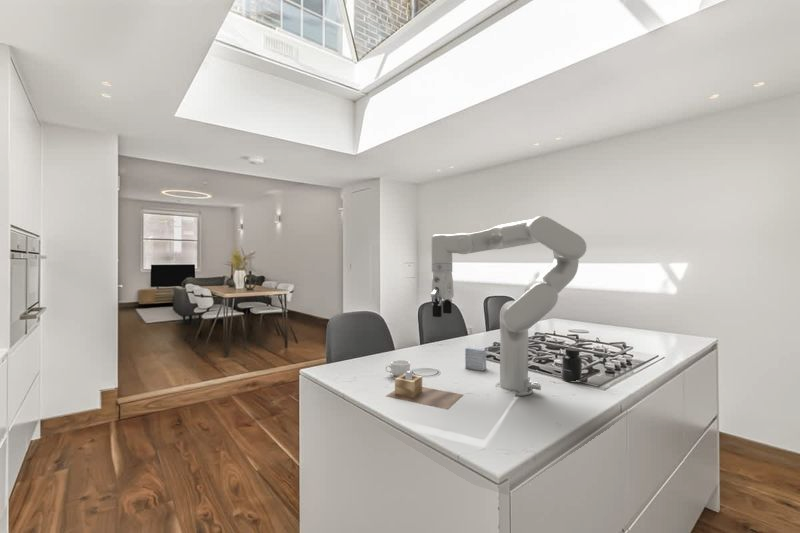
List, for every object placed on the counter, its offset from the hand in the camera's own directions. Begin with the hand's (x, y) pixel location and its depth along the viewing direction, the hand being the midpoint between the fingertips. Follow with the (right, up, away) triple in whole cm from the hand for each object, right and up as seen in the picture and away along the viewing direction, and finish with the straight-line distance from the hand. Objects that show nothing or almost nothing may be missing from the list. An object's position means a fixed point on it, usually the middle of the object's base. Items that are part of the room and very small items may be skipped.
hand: (442, 314), depth 137 cm
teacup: (-16, -26, +12) cm, 33 cm away
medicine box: (+17, -26, +22) cm, 38 cm away
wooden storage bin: (-13, -25, -11) cm, 30 cm away
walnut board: (-7, -26, -14) cm, 30 cm away
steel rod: (-13, -25, -11) cm, 30 cm away
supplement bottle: (+50, -26, +7) cm, 57 cm away
